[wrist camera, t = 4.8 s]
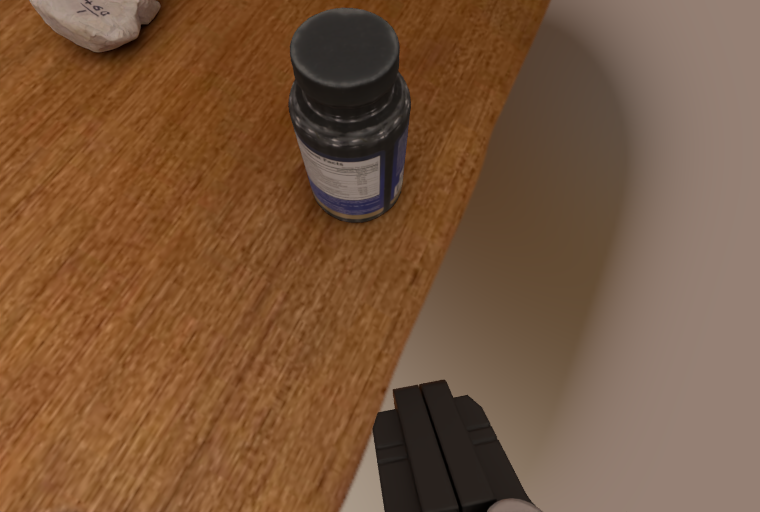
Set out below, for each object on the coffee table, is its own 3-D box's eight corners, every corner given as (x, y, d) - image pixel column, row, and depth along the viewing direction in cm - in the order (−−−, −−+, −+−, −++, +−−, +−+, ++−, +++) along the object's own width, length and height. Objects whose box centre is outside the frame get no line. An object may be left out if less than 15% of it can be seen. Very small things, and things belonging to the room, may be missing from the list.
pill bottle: (358, 135, 28) (348, -24, 18) (420, 185, 27) (448, 43, 17) (293, 186, 27) (242, 43, 16) (355, 244, 25) (342, 124, 15)
